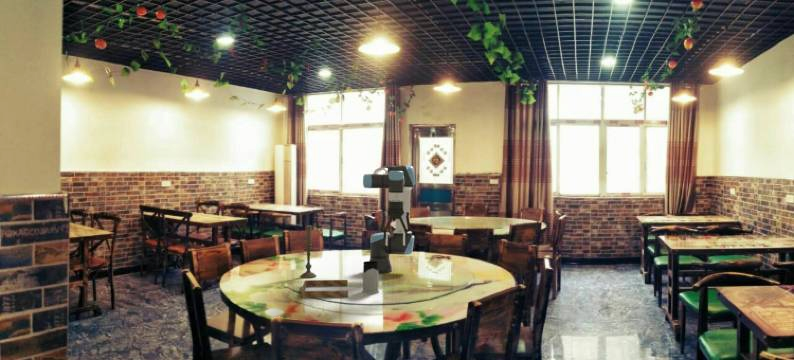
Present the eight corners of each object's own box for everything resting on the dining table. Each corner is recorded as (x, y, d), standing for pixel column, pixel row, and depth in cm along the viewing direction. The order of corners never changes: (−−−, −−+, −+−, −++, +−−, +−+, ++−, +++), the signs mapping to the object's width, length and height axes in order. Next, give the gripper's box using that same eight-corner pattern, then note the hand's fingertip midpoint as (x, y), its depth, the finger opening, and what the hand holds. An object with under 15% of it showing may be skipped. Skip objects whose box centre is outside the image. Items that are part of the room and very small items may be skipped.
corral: (347, 285, 259) (347, 279, 259) (348, 297, 235) (348, 290, 235) (304, 286, 257) (304, 280, 257) (300, 297, 233) (300, 291, 233)
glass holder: (363, 294, 241) (364, 264, 240) (358, 287, 254) (358, 259, 254) (381, 293, 243) (381, 263, 243) (374, 287, 257) (375, 258, 256)
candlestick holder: (318, 275, 284) (318, 223, 283) (313, 278, 275) (314, 225, 274) (302, 274, 285) (303, 223, 284) (298, 278, 275) (298, 225, 275)
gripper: (375, 201, 244) (375, 246, 245) (417, 201, 247) (416, 246, 247) (374, 200, 252) (374, 244, 252) (415, 200, 254) (414, 243, 255)
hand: (395, 245), depth 250 cm, fingers open, 8 cm apart
